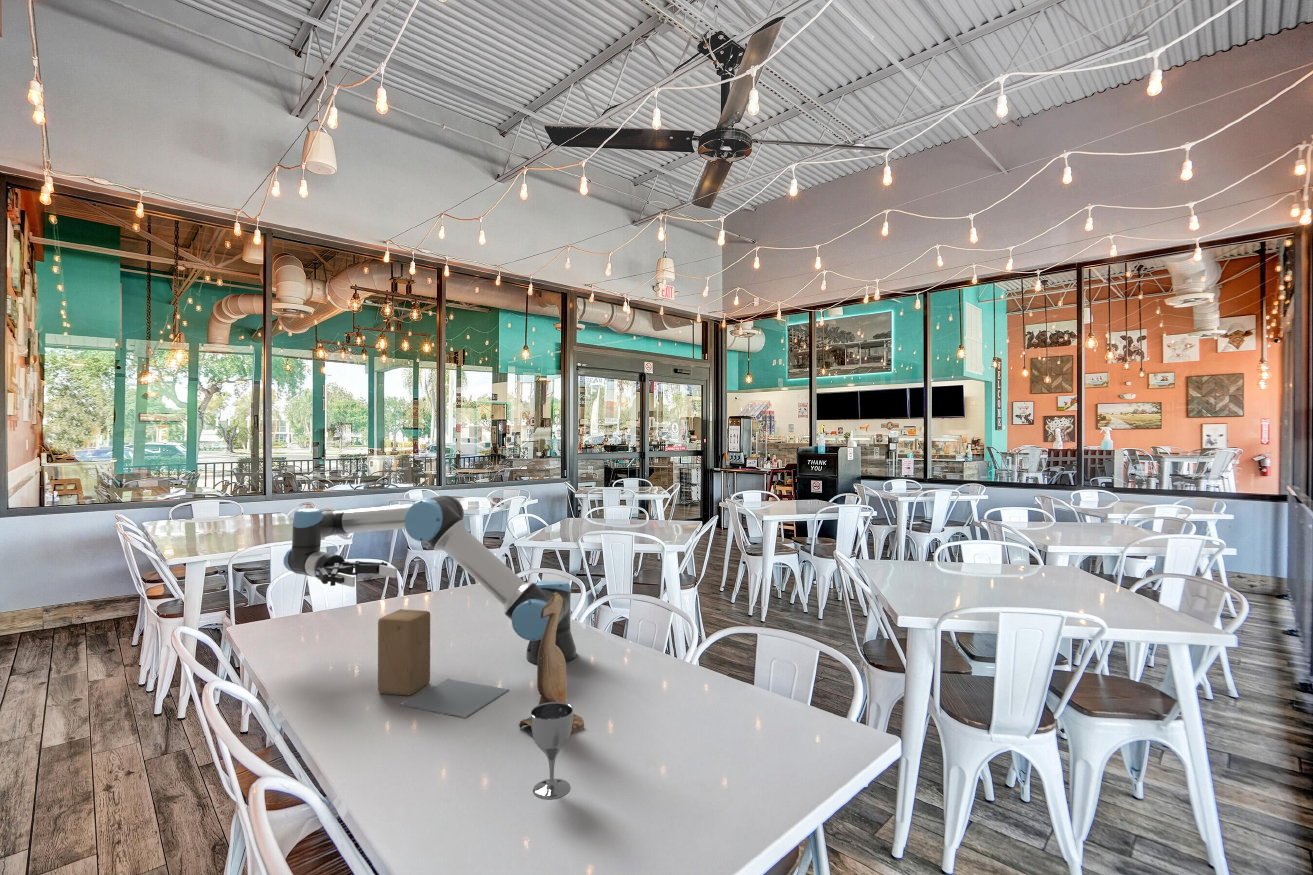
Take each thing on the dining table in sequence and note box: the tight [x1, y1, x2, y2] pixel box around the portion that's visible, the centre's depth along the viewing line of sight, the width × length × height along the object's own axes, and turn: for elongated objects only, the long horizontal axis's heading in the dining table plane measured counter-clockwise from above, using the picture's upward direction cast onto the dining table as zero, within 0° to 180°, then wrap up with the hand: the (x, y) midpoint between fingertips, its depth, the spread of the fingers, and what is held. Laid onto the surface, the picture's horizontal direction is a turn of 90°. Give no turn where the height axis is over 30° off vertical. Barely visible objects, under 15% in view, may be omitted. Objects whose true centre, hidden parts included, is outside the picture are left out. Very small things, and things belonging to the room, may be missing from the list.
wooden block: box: [377, 609, 431, 696], centre depth 169 cm, size 10×10×20 cm
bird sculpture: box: [518, 592, 585, 734], centre depth 145 cm, size 11×12×32 cm
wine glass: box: [530, 702, 574, 800], centre depth 121 cm, size 8×8×15 cm
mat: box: [399, 678, 510, 719], centre depth 163 cm, size 20×18×1 cm
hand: (375, 577), depth 174 cm, fingers open, 13 cm apart
